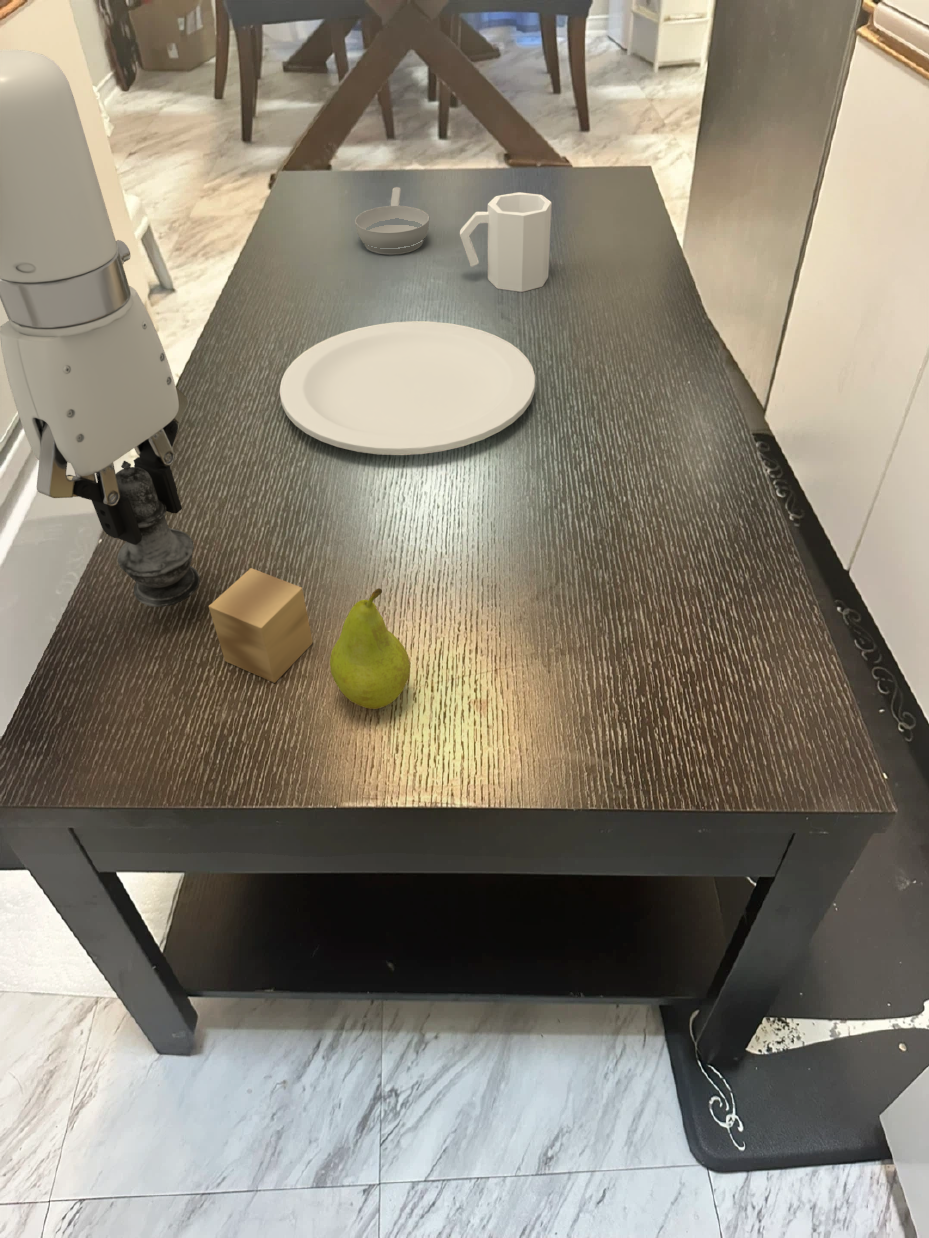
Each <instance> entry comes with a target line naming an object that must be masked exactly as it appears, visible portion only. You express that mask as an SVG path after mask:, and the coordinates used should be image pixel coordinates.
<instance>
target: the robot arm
mask: <svg viewBox="0 0 929 1238" xmlns="http://www.w3.org/2000/svg"><path fill="white" fill-rule="evenodd" d="M81 120H82V119H81V117H80V113H79V111H78V108H77V103H76V99H75V97H74V93H73V91H72V88H71V85H70V82H69V80H68V78H67V76H66V74H65V73H64V71H63V70H62V69H61V67H60V65H58V64H57V62H55V60H53V59H51V58H49V57H48V56H47V55H44V54H42V53H38V52H36V51H32V50H31V51H30V50H26V49H25V50H24V49H0V302H1V304H2V307H3V309H4V311H5V314H6V317H7V320H8V321H6V322H4V323H3V324H1V325H0V347H1V352H2V359H3V364H4V368H5V369H4V370H5V372H6V378H7V381H8V384H9V388H10V392H11V395H12V398H13V401H14V405H15V409H16V411H17V415H18V418H19V420H20V423H21V426H22V428H23V432H24V433H25V437H26V439H27V442H28V445H29V446H30V449H31V451H32V453H33V456H35V458H36V460H38V467H37V468H38V469H37V478H36V490H37V492H38V493H39V494H42V495H44V496H47V497H49V498H52V499H64V498H65V499H67V498H69V499H71V498H75V497H76V498H82V499H85V500H89V501H91V503H92V505H93V508H94V510H95V513H96V516H97V519H98V521H99V524H100V526H101V528H102V530H103V531H104V533H105V534H106V535H108V536H109V537H112V538H114V539H118V540H121V541H123V542H125V543H126V542H128V543H131V544H133V545H137V544H138V543H139V542H141V541H142V535H141V532H140V529H139V526H138V523H137V520H136V518H135V515H134V512H133V509H132V506H131V503H130V501H129V499H128V498H126V497H123V496H121V495H120V493H119V488H118V483H117V478H116V473H117V472H116V468H115V465H114V463H115V462H116V461H117V460H119V459H121V458H122V457H123V456H124V455H126V454H127V453H129V452H130V451H132V450H134V451H135V453H136V454H137V457H136V458H135V459H133V464H134V465H133V467H138V468H142V469H144V470H145V471H147V472H148V473H149V475H150V477H151V479H152V482H153V485H154V488H155V491H156V494H157V497H158V500H160V501H162V502H163V503H164V504H165V506H166V512H168V513H170V514H178V513H179V512H180V511H182V510H183V506H182V503H181V499H180V497H179V493H178V488H177V485H176V481H175V478H174V475H173V472H172V468H171V465H172V464H173V463H174V461H175V459H176V454H175V452H174V449H173V447H174V443H175V440H176V437H177V434H178V432H179V431H178V430H179V424H180V423H181V421H182V419H183V417H184V416H185V414H186V412H187V410H188V408H189V406H190V399H189V398H188V397H187V396H186V395H185V394H184V392H182V391H181V390H180V389H179V387H177V386H176V383H175V379H174V375H173V373H172V372H173V371H172V370H171V369H172V368H171V366H170V363H169V360H168V357H167V354H166V352H165V349H164V346H163V344H162V341H161V338H160V336H159V334H158V331H157V329H156V326H155V325H154V323H153V320H152V318H151V316H150V314H149V311H148V310H147V308H146V306H145V304H144V302H143V300H142V298H141V297H140V295H139V293H138V291H137V290H136V289H135V288H134V287H132V286H130V285H129V281H128V278H127V275H126V271H125V268H124V264H125V262H128V261H129V260H130V259H131V251H130V248H129V247H128V245H127V244H126V242H124V241H123V240H119V239H117V240H116V237H115V233H114V231H113V230H114V229H113V226H112V223H111V219H110V217H109V216H110V215H109V213H108V209H107V206H106V202H105V199H104V196H103V193H102V189H101V186H100V182H99V178H98V176H97V175H98V174H97V172H96V169H95V165H94V162H93V159H92V155H91V151H90V148H89V145H88V142H87V138H86V135H85V134H86V133H85V131H84V127H83V123H82V121H81ZM68 463H69V464H70V465H71V467H72V468H73V471H74V475H72V474H67V469H68Z"/></svg>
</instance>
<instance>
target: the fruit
mask: <svg viewBox="0 0 929 1238" xmlns="http://www.w3.org/2000/svg"><path fill="white" fill-rule="evenodd" d="M382 593H383V590H382V588H381V587H378V588H376V589H375V590H374V591H372V593H371V595H370V597H369V598H368V599H361V600H359V601H357V602H356V603H354V605H353V606H352V607H351V608H350V610H349V612H348V614H347V616H346V618H345V620H344V622H343V625H342V627H341V632H340V635H339V638H338V639H337V640H336V642H335V643H334V645H333V647H332V650H331V652H330V657H329V666H330V673H331V676H332V679H333V682H334V683H335V684H336V686H337V687H338V689H339V691H340V692H341V693H342V694H343V695H344V697H346V699H347V700H349V701H350V702H352V703H353V704H355V705H357V706H360V707H362V708H365V709H369V710H377V709H381V708H384V707H386V706H388V705H390V704H392V703H393V702H395V700H396V699H397V698H398V697H399V696H400V695H401V694H402V693H403V691H404V689H405V687H406V685H407V683H408V681H409V678H410V673H411V664H410V657H409V654H408V652H407V650H406V648H405V647H404V645H403V644H402V642H401V641H400V640H399V639H398V637H397V636H395V635H394V633H392V632H391V631H390V630H388V627H387V625H386V622H385V620H384V618H383V616H382V615H381V613H380V611H379V610H378V608H377V604H376V603H374V600H376V598H378V597H379V596H380V595H381V594H382Z"/></svg>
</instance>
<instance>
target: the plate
mask: <svg viewBox="0 0 929 1238" xmlns="http://www.w3.org/2000/svg"><path fill="white" fill-rule="evenodd" d="M535 386H536V375H535V371H534V367H533V366H532V363H531V362H530V360H529V359H528V357H527V356H526V355H525V354H524V353H523V352H522V351H521V350H520V349H519V348H518V347H516V346H515V345H513V344H512V343H510V342H509V341H507V340H505V339H503V338H501V337H499V336H497V335H495V334H492V333H490V332H487V331H485V330H482V329H478V328H475V327H471V326H467V325H461V324H454V323H451V322H439V321H420V320H418V321H417V320H413V321H412V320H411V321H394V322H386V323H378V324H373V325H368V326H363V327H359V328H354V329H351V330H348V331H344V332H341V333H339V334H335V335H333V336H330V337H328V338H326V339H324V340H322V341H320V342H318V343H316V344H314V345H312V346H311V347H310V348H308V349H306V350H305V351H303V352H302V353H301V354H300V355H298V356H297V357H296V358H295V359H294V360H292V362H291V363H290V364H289V366H288V367H287V368H286V370H285V371H284V373H283V376H282V377H281V380H280V386H279V396H280V401H281V402H280V403H281V406H282V407H281V408H282V409H283V411H284V413H285V415H286V416H287V418H288V419H289V420H290V421H291V422H292V423H293V425H294V426H295V427H297V428H298V429H299V430H300V431H302V432H303V433H305V434H306V435H308V436H310V437H312V438H314V439H315V440H318V441H320V442H322V443H325V444H328V445H331V446H334V447H335V448H339V449H345V450H349V451H353V452H358V453H364V454H372V455H381V456H382V455H383V456H411V455H424V454H425V455H426V454H432V453H438V452H439V453H440V452H446V451H449V450H454V449H458V448H462V447H465V446H468V445H469V446H470V445H471V444H474V443H478V442H480V441H483V440H485V439H487V438H489V437H491V436H493V435H496V434H497V433H499V432H501V431H503V430H504V429H507V427H509V426H511V425H512V424H513V423H515V422H516V421H517V420H518V419H519V418H520V417H521V416H522V415H523V414H525V412H526V410H527V408H528V407H529V406H530V405H531V402H532V400H533V399H534V398H533V397H534V395H535V389H536V387H535Z"/></svg>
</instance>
